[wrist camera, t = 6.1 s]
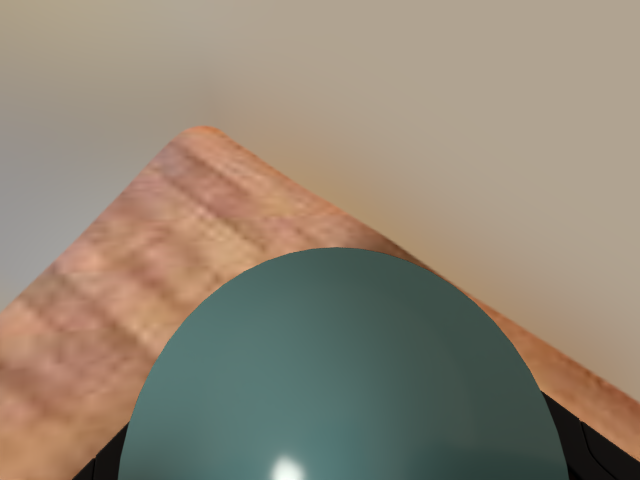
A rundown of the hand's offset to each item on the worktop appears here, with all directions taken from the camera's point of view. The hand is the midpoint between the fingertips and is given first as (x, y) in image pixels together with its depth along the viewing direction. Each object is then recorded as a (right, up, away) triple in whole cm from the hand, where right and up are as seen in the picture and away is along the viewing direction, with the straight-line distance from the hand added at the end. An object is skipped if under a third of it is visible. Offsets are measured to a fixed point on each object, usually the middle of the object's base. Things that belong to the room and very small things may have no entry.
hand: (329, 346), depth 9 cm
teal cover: (0, -3, +6) cm, 7 cm away
